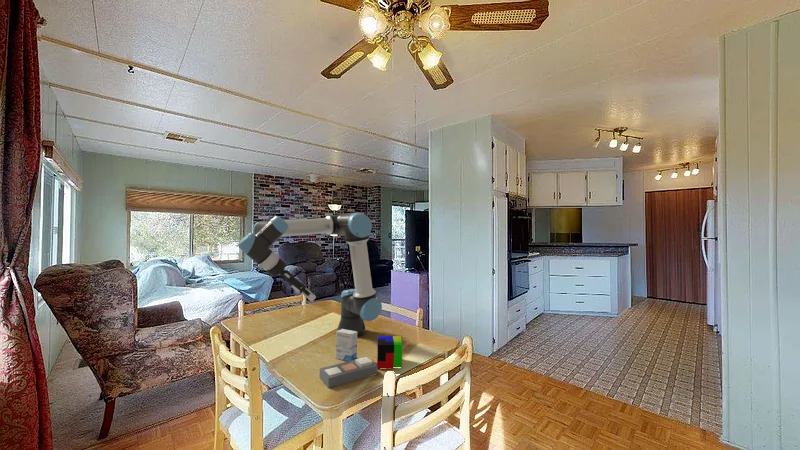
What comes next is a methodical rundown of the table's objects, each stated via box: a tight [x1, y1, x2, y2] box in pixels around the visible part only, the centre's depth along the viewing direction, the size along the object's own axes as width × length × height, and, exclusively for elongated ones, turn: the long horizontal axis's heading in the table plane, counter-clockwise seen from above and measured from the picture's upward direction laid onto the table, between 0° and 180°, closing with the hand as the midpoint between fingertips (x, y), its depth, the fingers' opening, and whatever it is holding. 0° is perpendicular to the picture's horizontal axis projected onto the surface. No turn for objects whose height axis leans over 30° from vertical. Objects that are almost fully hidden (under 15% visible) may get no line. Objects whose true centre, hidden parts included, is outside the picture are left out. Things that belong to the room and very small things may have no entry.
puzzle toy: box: [376, 335, 403, 370], centre depth 133 cm, size 10×10×10 cm
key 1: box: [324, 367, 342, 376], centre depth 118 cm, size 5×5×2 cm
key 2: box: [355, 356, 373, 367], centre depth 125 cm, size 5×5×2 cm
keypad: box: [319, 360, 378, 389], centre depth 121 cm, size 20×9×4 cm, turn 124°
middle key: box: [340, 363, 357, 371], centre depth 121 cm, size 5×5×2 cm
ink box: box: [334, 329, 358, 362], centre depth 137 cm, size 8×5×12 cm, turn 65°
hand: (308, 296), depth 139 cm, fingers open, 13 cm apart
